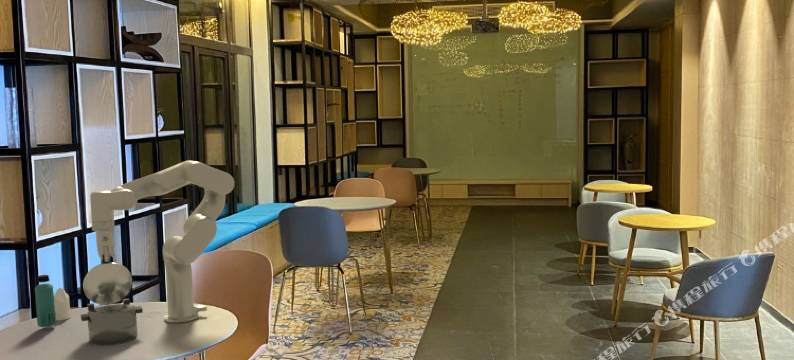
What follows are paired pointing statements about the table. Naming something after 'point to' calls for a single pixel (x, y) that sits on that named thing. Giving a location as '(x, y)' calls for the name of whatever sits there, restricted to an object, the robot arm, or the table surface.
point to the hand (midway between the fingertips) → (106, 276)
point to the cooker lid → (107, 283)
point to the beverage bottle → (45, 303)
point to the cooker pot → (112, 323)
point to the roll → (62, 305)
